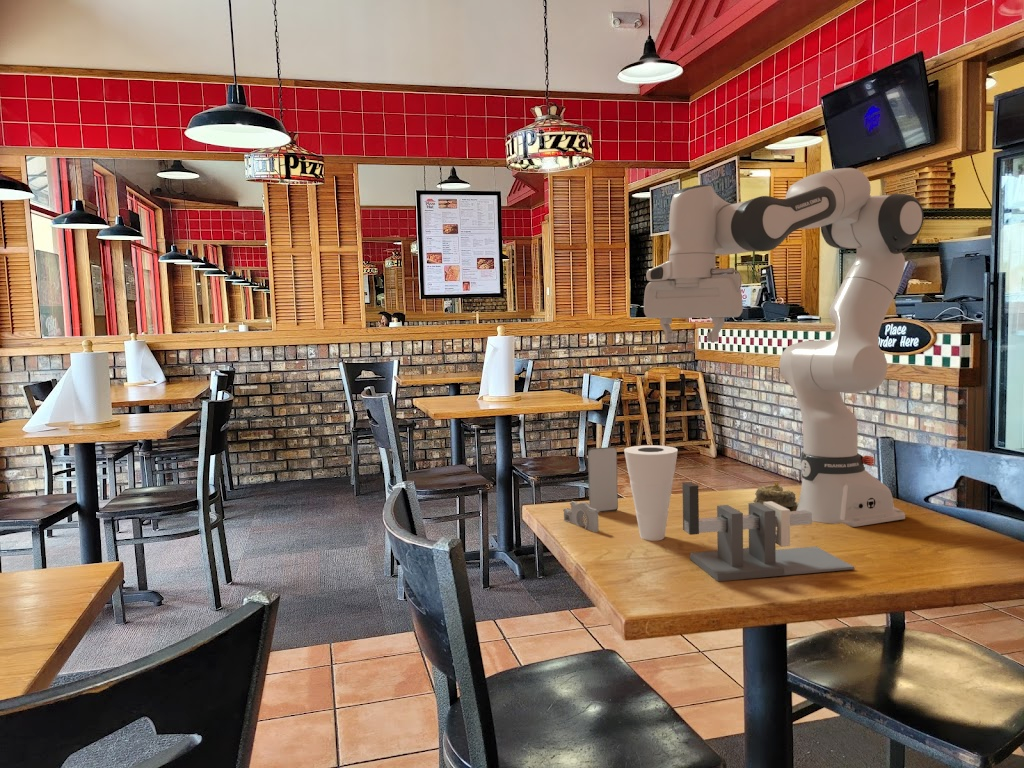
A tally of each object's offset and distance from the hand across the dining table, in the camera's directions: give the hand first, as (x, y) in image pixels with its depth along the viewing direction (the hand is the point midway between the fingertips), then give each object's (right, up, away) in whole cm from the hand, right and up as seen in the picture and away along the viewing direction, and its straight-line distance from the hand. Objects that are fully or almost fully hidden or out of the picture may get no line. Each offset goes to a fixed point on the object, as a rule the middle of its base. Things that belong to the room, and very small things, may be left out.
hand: (691, 341), depth 147 cm
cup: (-7, -40, +6) cm, 41 cm away
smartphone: (-14, -38, +27) cm, 49 cm away
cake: (+27, -37, +29) cm, 54 cm away
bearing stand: (+5, -41, -14) cm, 43 cm away
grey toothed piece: (-20, -40, +15) cm, 47 cm away
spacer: (+12, -36, -13) cm, 40 cm away
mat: (+17, -40, -12) cm, 45 cm away
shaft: (+7, -34, -14) cm, 37 cm away
